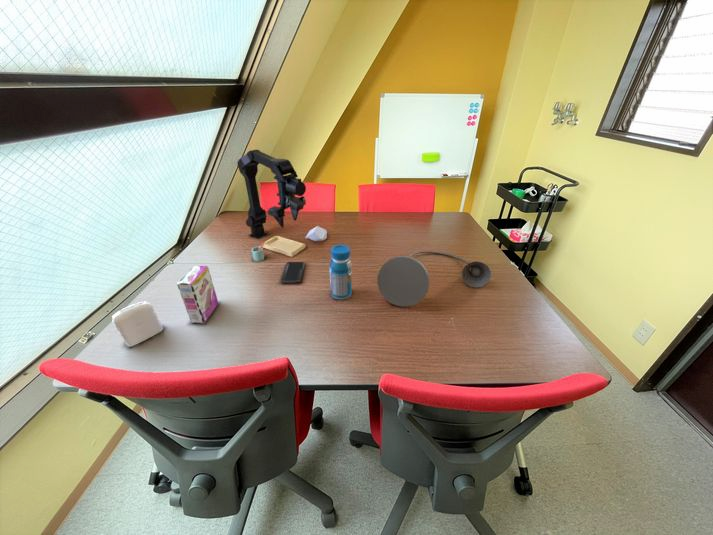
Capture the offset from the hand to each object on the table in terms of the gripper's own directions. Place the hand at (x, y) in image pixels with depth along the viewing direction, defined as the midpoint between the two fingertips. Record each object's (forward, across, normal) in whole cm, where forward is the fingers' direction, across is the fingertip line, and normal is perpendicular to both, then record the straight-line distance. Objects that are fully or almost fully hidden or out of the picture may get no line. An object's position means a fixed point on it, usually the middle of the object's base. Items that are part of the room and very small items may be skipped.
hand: (289, 224), depth 133 cm
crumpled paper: (+14, +16, -4) cm, 22 cm away
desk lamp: (+14, +9, -69) cm, 71 cm away
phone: (+14, -16, -13) cm, 25 cm away
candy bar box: (+14, -51, -2) cm, 53 cm away
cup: (+14, -13, +9) cm, 21 cm away
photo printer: (+14, -68, +6) cm, 69 cm away
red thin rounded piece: (+9, -13, +7) cm, 18 cm away
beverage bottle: (+14, -18, -38) cm, 45 cm away
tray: (+14, 0, +5) cm, 15 cm away
